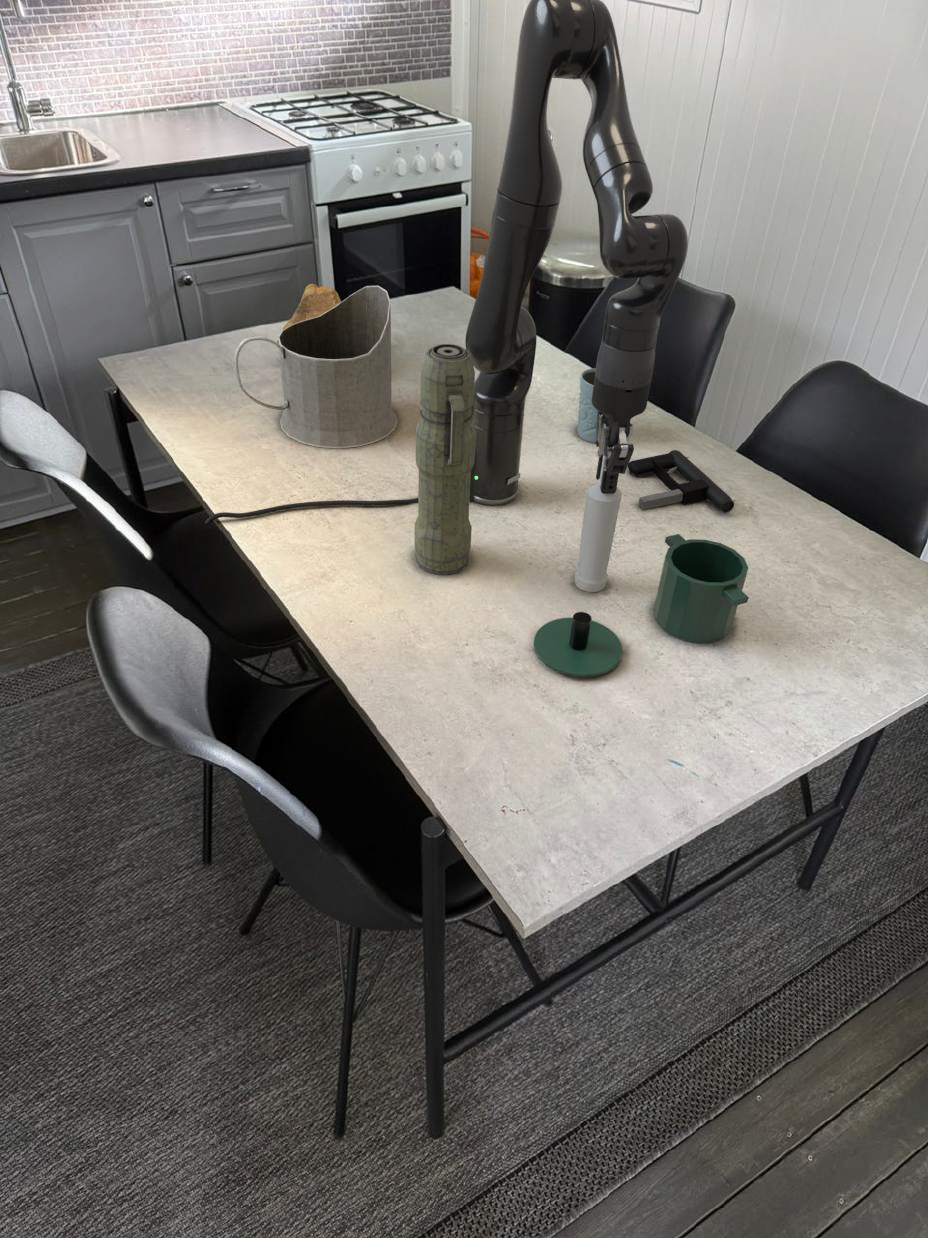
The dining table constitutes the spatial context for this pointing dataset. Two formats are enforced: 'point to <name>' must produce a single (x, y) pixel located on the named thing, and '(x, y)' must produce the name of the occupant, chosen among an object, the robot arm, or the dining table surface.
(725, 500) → the black staple gun
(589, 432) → the blue embossed cup
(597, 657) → the lid
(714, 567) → the pot
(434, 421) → the thermos
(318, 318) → the pitcher
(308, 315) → the rough brown rock
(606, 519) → the bottle
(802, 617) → the dining table surface
